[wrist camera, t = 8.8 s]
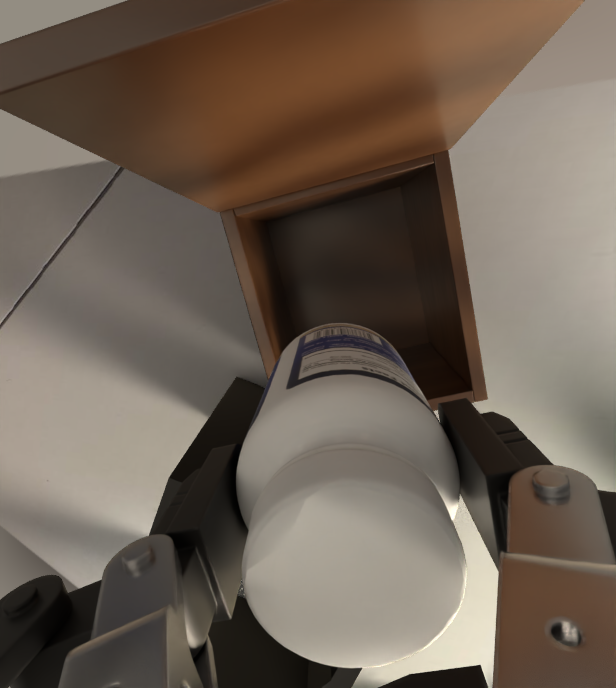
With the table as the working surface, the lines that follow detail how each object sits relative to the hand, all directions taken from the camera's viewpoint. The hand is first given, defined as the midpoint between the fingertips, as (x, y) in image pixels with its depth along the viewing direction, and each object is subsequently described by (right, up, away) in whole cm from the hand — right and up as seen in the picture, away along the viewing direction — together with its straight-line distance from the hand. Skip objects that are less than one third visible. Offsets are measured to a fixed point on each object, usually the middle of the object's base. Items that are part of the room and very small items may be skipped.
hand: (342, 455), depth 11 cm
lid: (0, +10, +3) cm, 11 cm away
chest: (+3, +8, +25) cm, 26 cm away
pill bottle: (0, +1, +6) cm, 6 cm away
